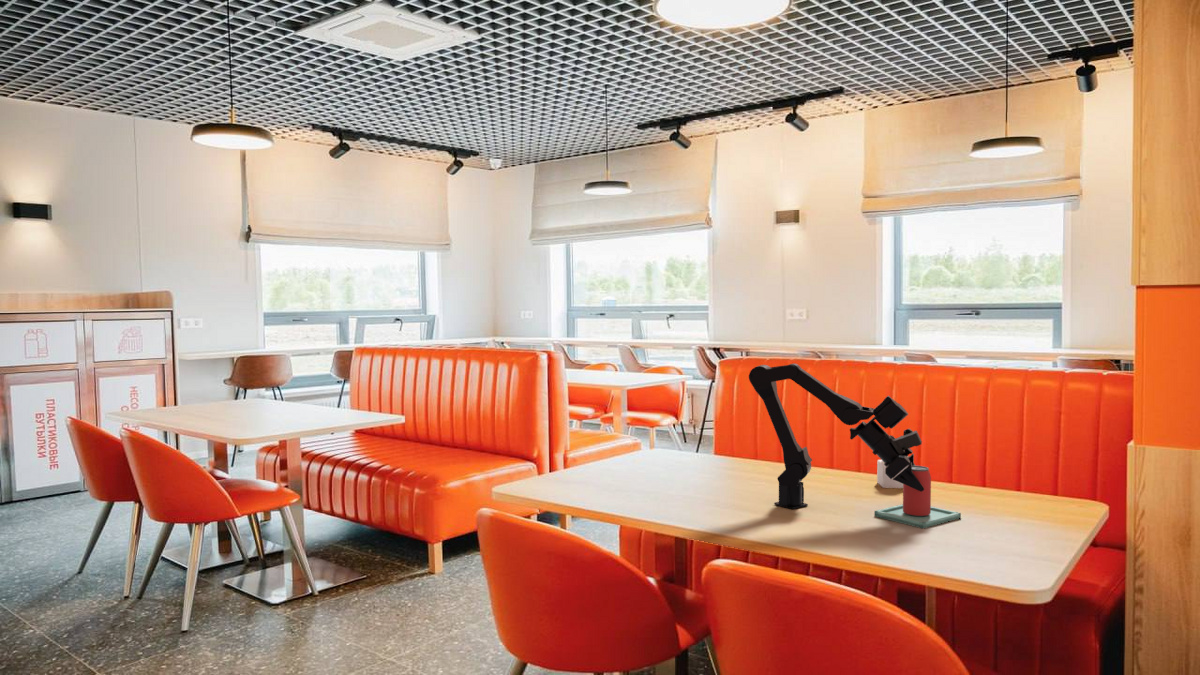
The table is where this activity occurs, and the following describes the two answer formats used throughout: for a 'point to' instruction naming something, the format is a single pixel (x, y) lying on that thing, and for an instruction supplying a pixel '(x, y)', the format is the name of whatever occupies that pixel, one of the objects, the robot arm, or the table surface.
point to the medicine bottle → (885, 477)
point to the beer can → (918, 494)
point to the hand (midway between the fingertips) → (923, 486)
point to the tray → (932, 519)
